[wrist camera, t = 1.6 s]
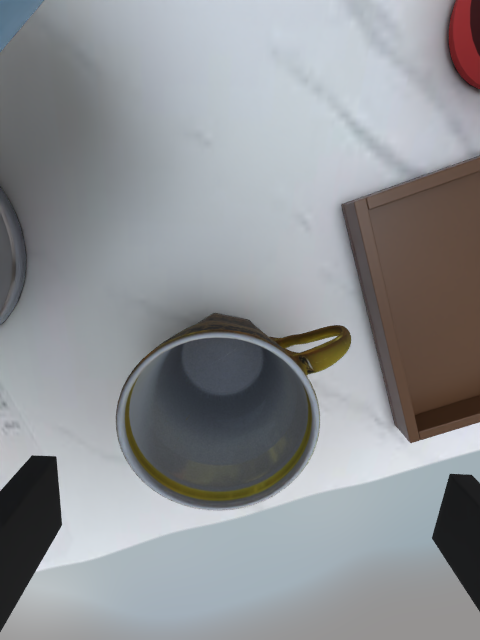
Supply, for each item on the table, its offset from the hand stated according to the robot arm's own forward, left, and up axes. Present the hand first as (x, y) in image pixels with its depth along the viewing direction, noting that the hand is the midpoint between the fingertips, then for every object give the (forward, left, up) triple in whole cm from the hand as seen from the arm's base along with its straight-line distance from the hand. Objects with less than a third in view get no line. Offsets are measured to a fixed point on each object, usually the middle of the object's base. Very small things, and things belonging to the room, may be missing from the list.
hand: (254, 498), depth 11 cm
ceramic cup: (0, 0, -15) cm, 15 cm away
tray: (+19, +6, -15) cm, 25 cm away
